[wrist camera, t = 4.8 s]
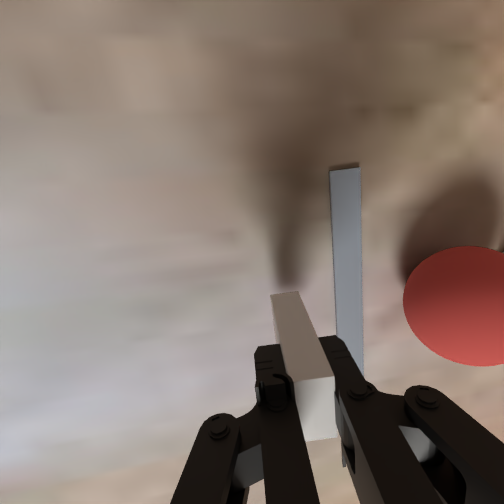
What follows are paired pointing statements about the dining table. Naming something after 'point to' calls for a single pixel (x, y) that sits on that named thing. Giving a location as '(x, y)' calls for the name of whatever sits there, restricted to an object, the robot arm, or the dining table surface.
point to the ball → (459, 304)
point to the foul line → (347, 258)
